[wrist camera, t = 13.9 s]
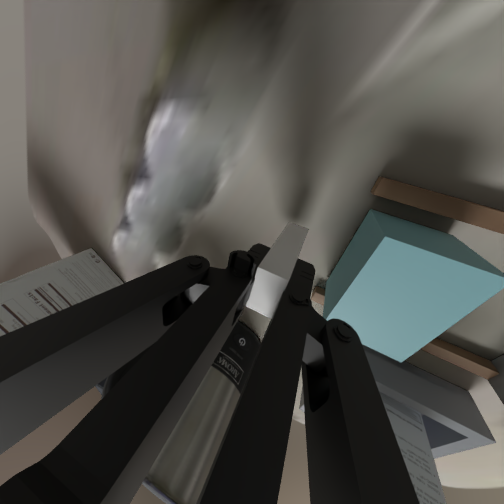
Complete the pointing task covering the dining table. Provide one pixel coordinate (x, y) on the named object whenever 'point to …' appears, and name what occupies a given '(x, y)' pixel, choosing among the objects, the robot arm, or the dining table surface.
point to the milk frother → (199, 420)
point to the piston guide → (500, 369)
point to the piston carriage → (406, 284)
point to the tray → (431, 404)
